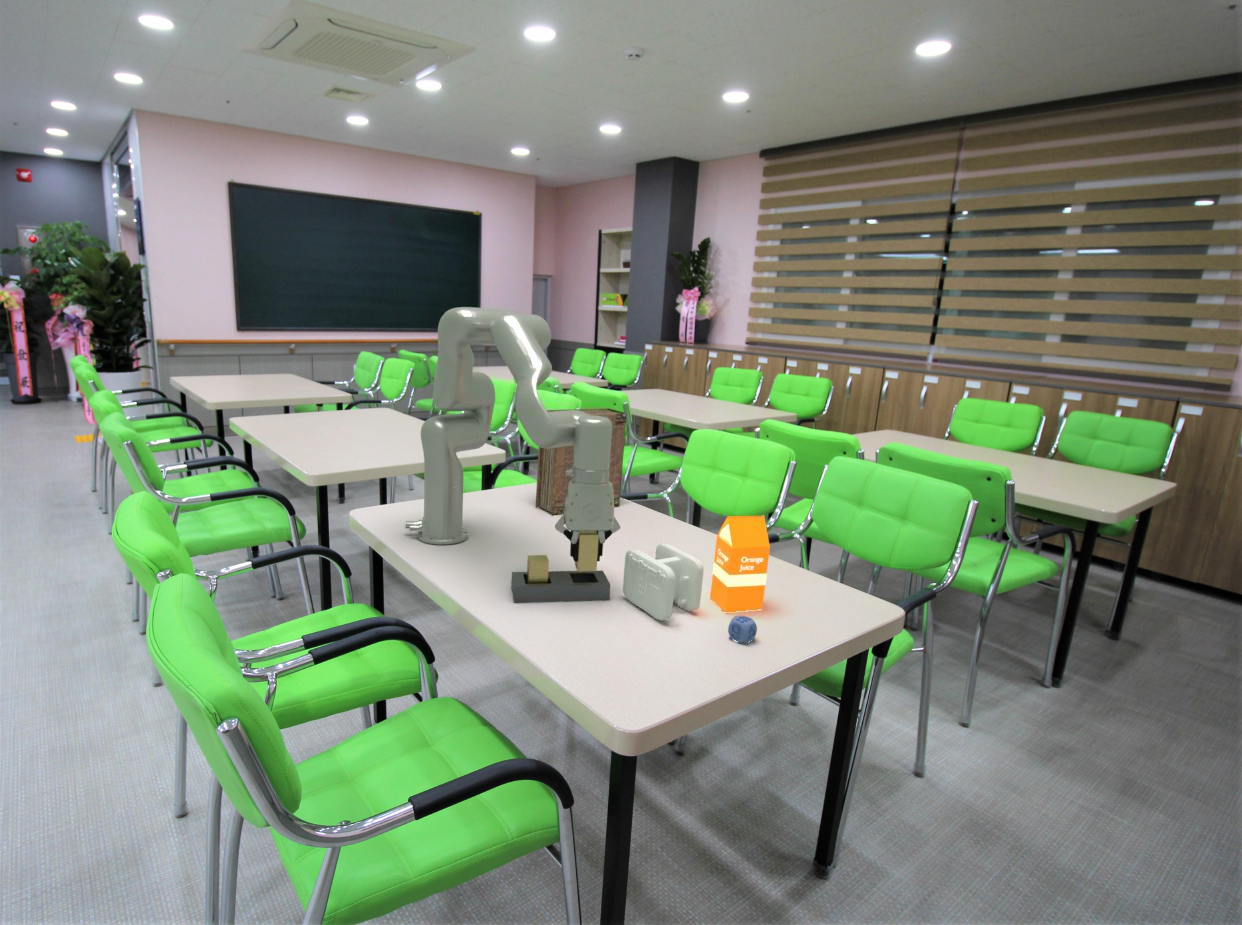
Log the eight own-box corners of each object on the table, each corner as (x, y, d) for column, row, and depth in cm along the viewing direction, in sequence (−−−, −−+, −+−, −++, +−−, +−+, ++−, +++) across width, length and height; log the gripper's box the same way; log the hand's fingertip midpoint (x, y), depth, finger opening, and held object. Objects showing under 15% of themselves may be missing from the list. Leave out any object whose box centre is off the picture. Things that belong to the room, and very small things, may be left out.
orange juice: (762, 611, 143) (774, 521, 139) (724, 614, 140) (735, 522, 136) (745, 596, 150) (756, 510, 146) (709, 598, 148) (718, 510, 143)
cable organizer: (702, 617, 138) (708, 563, 136) (661, 627, 132) (667, 571, 130) (658, 590, 150) (662, 540, 148) (618, 598, 144) (623, 546, 142)
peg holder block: (513, 602, 138) (515, 565, 136) (511, 587, 145) (512, 552, 144) (609, 600, 143) (612, 564, 141) (601, 585, 150) (604, 551, 148)
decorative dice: (755, 639, 130) (758, 620, 129) (744, 646, 127) (747, 626, 126) (738, 632, 132) (740, 613, 132) (726, 638, 130) (729, 619, 129)
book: (551, 516, 198) (556, 415, 192) (535, 507, 205) (540, 410, 199) (619, 506, 213) (626, 412, 207) (602, 499, 220) (609, 408, 214)
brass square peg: (577, 571, 141) (579, 534, 140) (574, 564, 145) (576, 529, 143) (596, 570, 142) (598, 534, 141) (593, 564, 146) (595, 528, 144)
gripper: (553, 479, 134) (548, 566, 138) (634, 480, 138) (628, 565, 142) (548, 471, 141) (544, 553, 145) (625, 472, 145) (620, 552, 149)
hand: (586, 558), depth 143 cm, fingers closed on brass square peg, 4 cm apart
